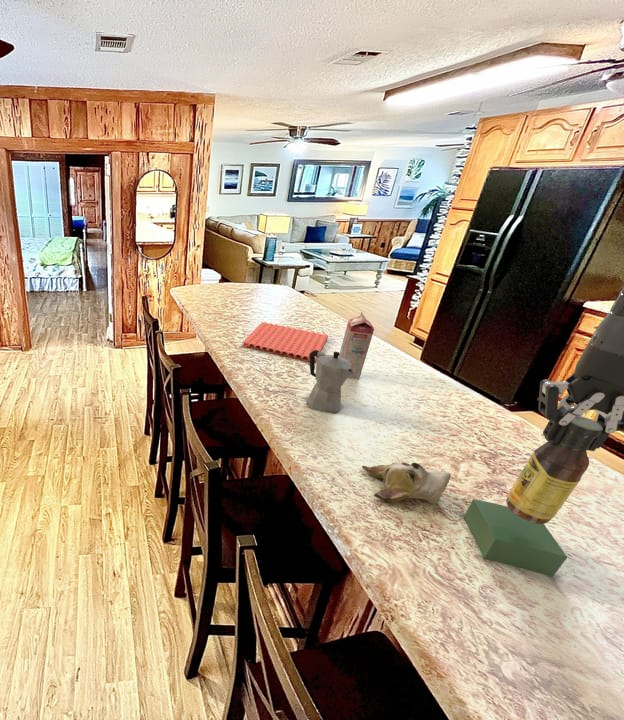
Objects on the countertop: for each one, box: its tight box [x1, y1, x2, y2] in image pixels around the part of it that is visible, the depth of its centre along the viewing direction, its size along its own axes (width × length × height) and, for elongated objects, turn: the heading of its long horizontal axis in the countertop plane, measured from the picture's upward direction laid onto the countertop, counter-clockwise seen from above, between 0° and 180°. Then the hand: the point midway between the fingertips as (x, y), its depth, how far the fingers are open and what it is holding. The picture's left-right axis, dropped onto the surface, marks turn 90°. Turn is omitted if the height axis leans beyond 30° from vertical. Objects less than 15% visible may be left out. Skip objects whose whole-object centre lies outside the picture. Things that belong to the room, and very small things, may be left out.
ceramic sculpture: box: [361, 462, 452, 504], centre depth 83 cm, size 11×9×15 cm
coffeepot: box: [306, 350, 355, 414], centre depth 113 cm, size 15×9×18 cm, turn 23°
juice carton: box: [338, 311, 375, 380], centre depth 131 cm, size 7×7×22 cm
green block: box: [463, 498, 568, 577], centre depth 71 cm, size 10×10×6 cm
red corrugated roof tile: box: [241, 321, 329, 364], centre depth 159 cm, size 28×28×2 cm
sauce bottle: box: [505, 415, 603, 525], centre depth 64 cm, size 6×6×20 cm
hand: (568, 444), depth 62 cm, fingers closed on sauce bottle, 4 cm apart
